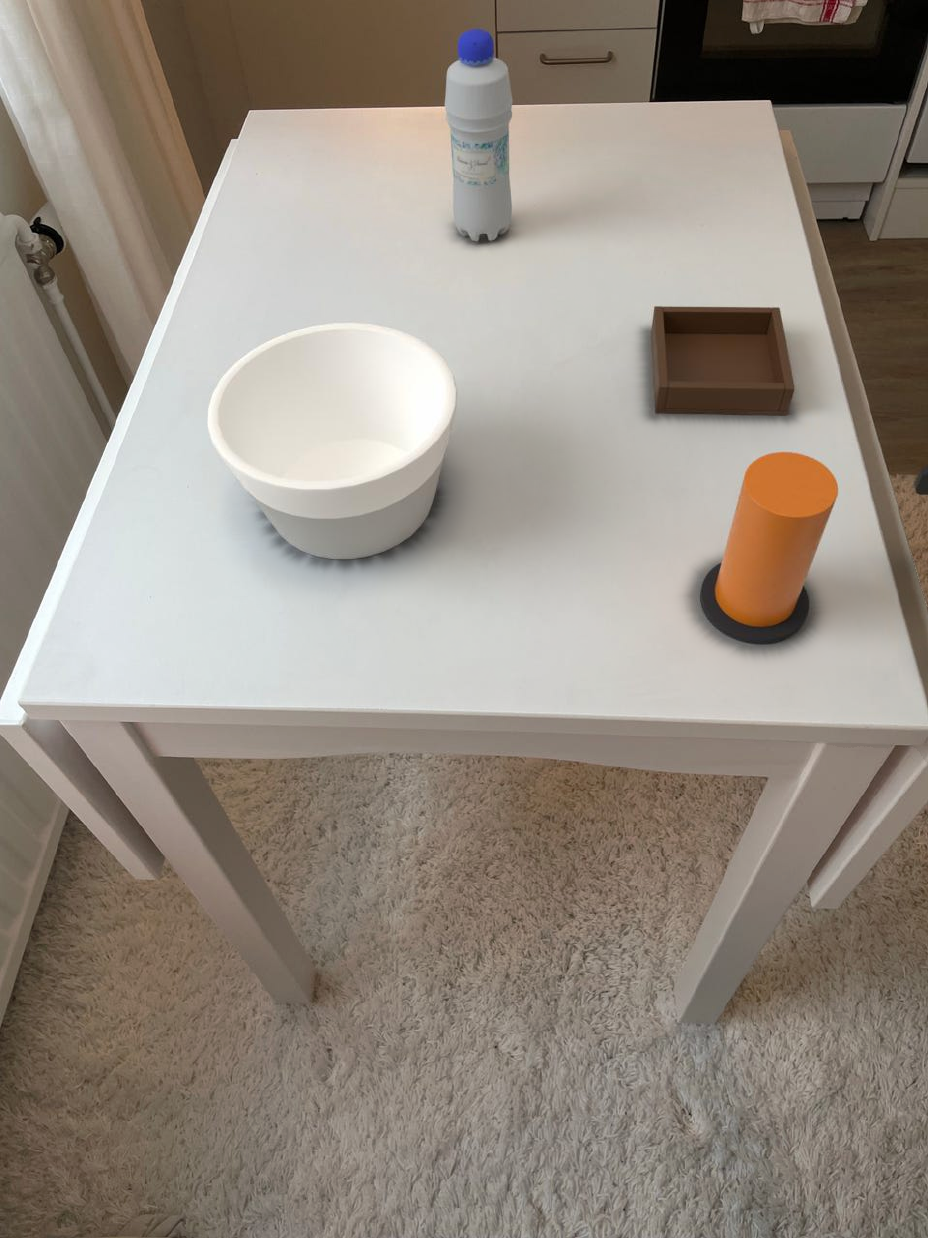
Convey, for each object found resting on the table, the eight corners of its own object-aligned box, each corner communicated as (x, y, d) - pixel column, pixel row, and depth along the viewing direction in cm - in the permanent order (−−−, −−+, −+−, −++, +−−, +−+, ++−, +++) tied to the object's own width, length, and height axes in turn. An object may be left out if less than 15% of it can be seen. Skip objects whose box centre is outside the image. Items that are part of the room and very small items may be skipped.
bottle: (443, 241, 104) (428, 42, 88) (466, 208, 107) (456, 12, 91) (501, 252, 102) (496, 51, 86) (522, 218, 106) (522, 20, 89)
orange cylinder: (804, 578, 73) (847, 465, 63) (784, 637, 70) (826, 527, 60) (727, 555, 75) (757, 442, 65) (705, 612, 72) (733, 501, 62)
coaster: (817, 579, 74) (819, 574, 73) (793, 658, 70) (795, 653, 69) (716, 549, 76) (717, 544, 76) (686, 624, 72) (687, 619, 71)
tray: (773, 333, 92) (779, 306, 89) (787, 415, 85) (794, 388, 82) (650, 332, 93) (654, 305, 90) (655, 412, 86) (659, 386, 83)
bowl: (298, 403, 89) (274, 304, 80) (494, 444, 84) (490, 343, 76) (198, 553, 78) (159, 458, 70) (416, 609, 74) (402, 514, 65)
